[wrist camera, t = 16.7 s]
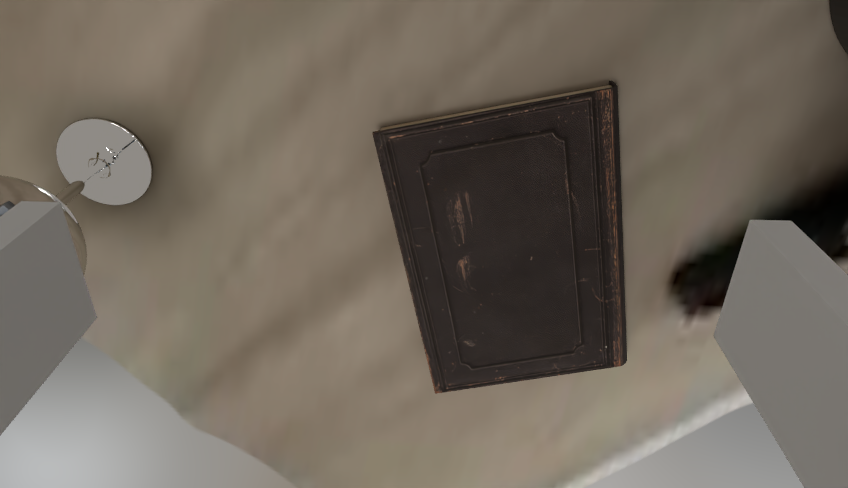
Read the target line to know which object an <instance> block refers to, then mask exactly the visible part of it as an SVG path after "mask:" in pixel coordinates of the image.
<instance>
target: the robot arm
mask: <svg viewBox="0 0 848 488" xmlns="http://www.w3.org/2000/svg"><path fill="white" fill-rule="evenodd" d="M830 9H831V16H832V22H833V25H834V29H835V32H836V34H837V37H838V39H839V41H840V43H841V45H842V46H843V48H844V50H845V51H846V52H847V54H848V0H830ZM96 318H97V316H96V313H95V309H94V306H93V303H92V300H91V297H90V294H89V291H88V287H87V284H86V281H85V278H84V275H83V272H82V269H81V265H80V262H79V259H78V256H77V253H76V250H75V246H74V243H73V240H72V237H71V234H70V231H69V228H68V224H67V221H66V218H65V215H64V212H63V209H62V206H61V202H35V201H21V202H19V203H18V204H17V205H15V206H14V207H13V208H11V209H10V210H8V211H7V212H6V213H4V214H3V215H2V216H0V435H1V434H2V433H3V432H4V430H5V429H6V428H7V427H8V425H9V424H10V423H11V421H12V420H13V419H14V418H15V417H16V415H18V413H19V412H20V411H21V410H22V408H23V407H24V406H25V405H26V404H27V402H28V401H29V400H30V399H31V397H32V396H33V395H34V394H35V392H36V391H37V390H38V389H39V388H40V386H41V385H42V384H43V383H44V382H45V380H46V379H47V378H48V377H49V375H50V374H51V373H52V372H53V370H54V369H55V368H56V367H57V366H58V365H59V363H60V362H61V361H62V360H63V358H64V357H65V356H66V355H67V354H68V352H69V351H70V350H71V349H72V347H73V346H74V345H75V344H76V343H77V341H78V340H79V339H80V338H81V336H82V335H83V334H84V333H85V332H86V330H87V329H88V328H89V327H90V326H91V324H92V323H93V322H94V321H95V319H96ZM714 338H715V339H716V341H717V343H718V344H719V346H720V348H721V349H722V351H723V353H724V354H725V356H726V358H727V359H728V361H729V363H730V364H731V366H732V368H733V369H734V371H735V373H736V374H737V376H738V378H739V379H740V381H741V383H742V384H743V386H744V388H745V389H746V391H747V393H748V394H749V396H750V398H751V399H752V401H753V403H754V404H755V406H756V408H757V409H758V411H759V413H760V414H761V416H762V418H763V419H764V421H765V423H766V424H767V426H768V428H769V429H770V431H771V433H772V434H773V436H774V438H775V439H776V441H777V443H778V445H779V446H780V448H781V450H782V451H783V453H784V455H785V456H786V458H787V460H788V461H789V463H790V465H791V466H792V468H793V470H794V471H795V473H796V475H797V476H798V478H799V480H800V481H801V483H802V484H803V486H804V488H848V275H847V274H846V273H845V272H844V271H843V270H842V269H841V268H840V267H839V266H838V265H837V264H836V263H835V262H834V261H833V260H832V259H831V258H830V257H829V256H828V255H826V254H825V253H824V252H823V251H822V250H821V249H820V248H819V247H818V246H817V245H816V244H815V243H814V242H813V241H812V240H811V239H810V238H809V237H808V236H807V235H806V234H805V233H804V232H803V231H801V230H800V229H799V228H798V227H797V226H796V225H795V224H794V223H793V222H792V221H780V220H750V221H749V225H748V228H747V231H746V234H745V237H744V240H743V244H742V247H741V250H740V253H739V256H738V259H737V263H736V266H735V269H734V272H733V275H732V279H731V282H730V285H729V288H728V291H727V294H726V298H725V301H724V304H723V307H722V310H721V313H720V317H719V320H718V323H717V326H716V329H715V333H714Z"/></svg>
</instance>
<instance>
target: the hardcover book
mask: <svg viewBox="0 0 848 488" xmlns="http://www.w3.org/2000/svg"><path fill="white" fill-rule="evenodd" d="M373 137H374V142H375V146H376V150H377V154H378V158H379V162H380V166H381V171H382V175H383V179H384V183H385V187H386V191H387V195H388V199H389V204H390V208H391V212H392V216H393V220H394V224H395V228H396V233H397V237H398V241H399V245H400V249H401V253H402V257H403V262H404V266H405V270H406V274H407V278H408V282H409V286H410V291H411V295H412V299H413V303H414V307H415V311H416V315H417V320H418V324H419V328H420V332H421V336H422V340H423V344H424V349H425V353H426V357H427V361H428V365H429V369H430V373H431V378H432V382H433V386H434V390H435V394H436V393H442V392H449V391H456V390H463V389H469V388H476V387H483V386H490V385H496V384H503V383H510V382H517V381H523V380H530V379H537V378H543V377H550V376H557V375H564V374H570V373H577V372H584V371H591V370H597V369H604V368H611V367H618V366H622V365H624V364H625V363H626V361H627V346H626V318H625V289H624V261H623V232H622V203H621V175H620V146H619V118H618V89H617V85H616V84H615V83H614V82H612V81H609V85H607V86H601V87H596V88H591V89H585V90H580V91H575V92H569V93H564V94H559V95H553V96H548V97H543V98H537V99H532V100H526V101H521V102H516V103H510V104H505V105H500V106H494V107H489V108H484V109H478V110H473V111H468V112H462V113H457V114H452V115H446V116H441V117H436V118H430V119H425V120H420V121H414V122H409V123H404V124H398V125H393V126H388V127H382V128H381V129H380V131H375V132H373Z"/></svg>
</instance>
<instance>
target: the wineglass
mask: <svg viewBox="0 0 848 488" xmlns="http://www.w3.org/2000/svg"><path fill="white" fill-rule="evenodd" d="M56 155H57V161H58V165H59V167H60V170H61V172H62V173H63V175H64V177H65V178H66V180H67V181H68V182H69V183H70V185H68V186H67V187H66V188H65V189H63V190H62V191H61V192H60V193H58V194H57V195H56V196H54V195H53V194H51V193H50V192H48V191H47V190H45V189H43V188H41V187H39V186H37V185H35V184H33V183H30V182H28V181H25V180H22V179H18V178H14V177H9V176H2V175H0V216H2V215H3V214H4V213H6V212H7V211H8V210H10V209H11V208H13V207H14V206H15V205H17V204H18V203H19V202H21V201H35V202H61V206H62V209H63V212H64V215H65V218H66V221H67V224H68V228H69V231H70V234H71V237H72V240H73V243H74V246H75V250H76V253H77V256H78V259H79V262H80V265H81V269H82V272H83V275H84V274H85V270H86V264H87V248H86V242H85V238H84V235H83V232H82V229H81V227H80V225H79V223H78V221H77V220H76V218H75V216H74V215H73V214H72V212H71V211H70V210H69V209H68V207H67V206H66V205H67V204H68V203H69V202H70V201H72V200H73V199H74V198H75V197H76V196H77V195H78V194H80V193H81V194H82V195H84V196H86V197H87V198H89V199H91V200H94V201H96V202H99V203H103V204H108V205H123V204H127V203H130V202H133V201H135V200H137V199H138V198H140V197H141V196H142V195H143V194H144V193H145V192H146V190H147V189H148V187H149V185H150V183H151V179H152V163H151V159H150V157H149V154H148V152H147V150H146V148H145V147H144V145H143V144H142V143H141V141H140V140H139V139H138V138H137V137H136V136H135V135H134V134H133V133H132V132H130V131H129V130H128V129H126V128H125V127H123V126H121V125H119V124H117V123H115V122H112V121H109V120H105V119H99V118H88V119H82V120H79V121H76V122H74V123H72V124H71V125H69V126H68V127H67V128H66V129H65V130H64V131H63V132H62V134H61V135H60V137H59V139H58V142H57V148H56Z"/></svg>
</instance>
